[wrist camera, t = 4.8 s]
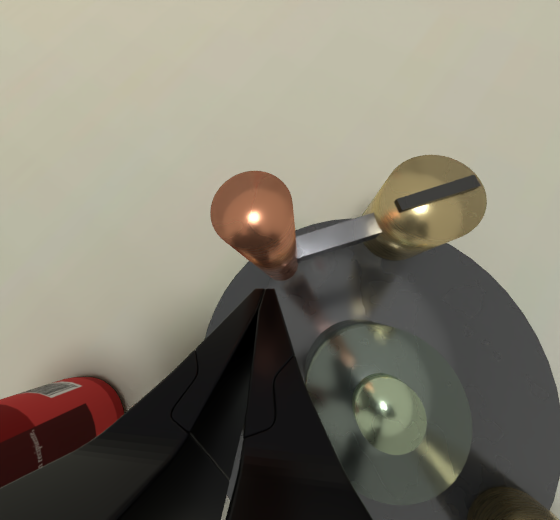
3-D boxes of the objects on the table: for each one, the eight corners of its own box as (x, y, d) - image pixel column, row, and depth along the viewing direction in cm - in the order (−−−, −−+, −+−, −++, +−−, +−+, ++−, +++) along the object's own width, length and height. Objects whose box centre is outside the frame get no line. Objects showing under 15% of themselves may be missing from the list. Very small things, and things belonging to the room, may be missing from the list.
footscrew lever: (410, 191, 14) (565, 33, 6) (439, 249, 13) (676, 157, 5) (256, 240, 15) (197, 158, 6) (273, 299, 14) (228, 294, 5)
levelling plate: (621, 544, 10) (934, 782, 5) (213, 619, 12) (143, 874, 6) (445, 193, 15) (518, 137, 10) (169, 270, 16) (108, 255, 11)
